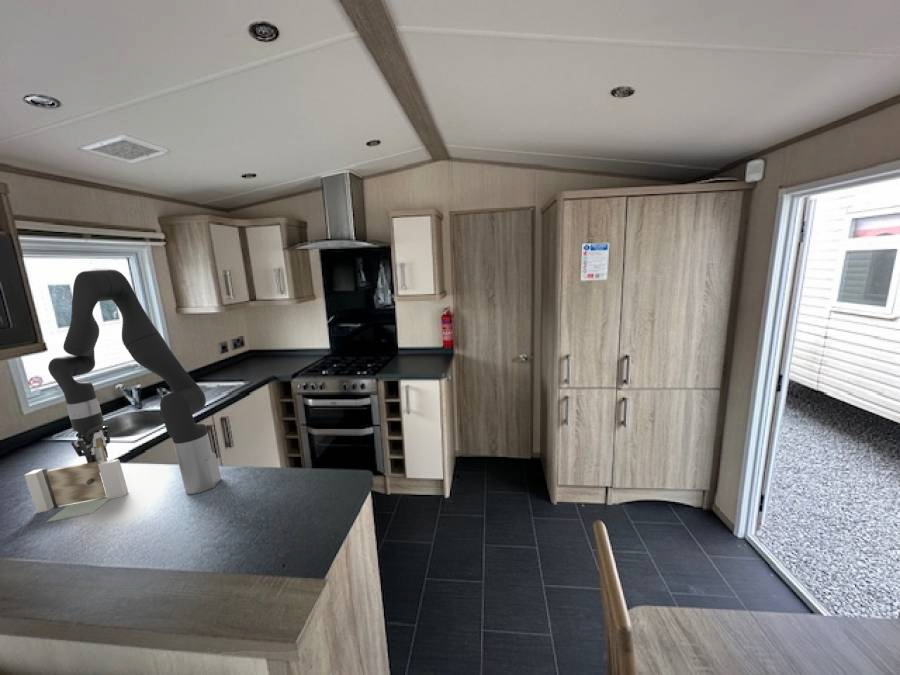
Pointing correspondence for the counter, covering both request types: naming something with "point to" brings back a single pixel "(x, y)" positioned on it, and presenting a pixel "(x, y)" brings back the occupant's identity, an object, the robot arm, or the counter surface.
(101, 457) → the sprinkles bottle
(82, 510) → the mat
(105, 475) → the wall
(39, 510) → the hinge post
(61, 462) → the counter surface
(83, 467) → the door
